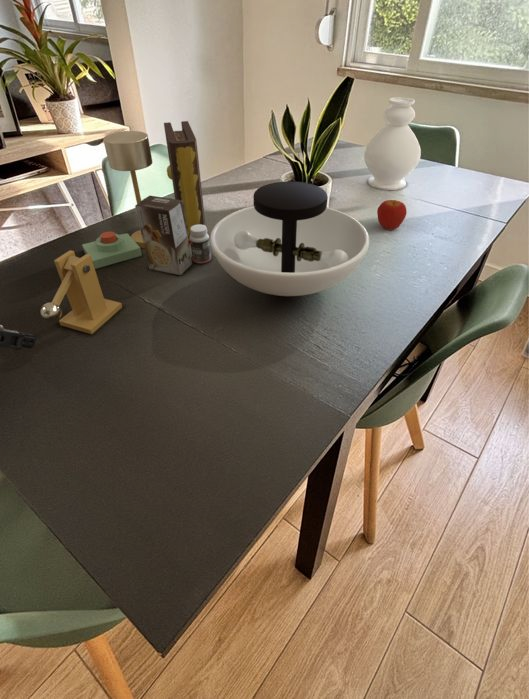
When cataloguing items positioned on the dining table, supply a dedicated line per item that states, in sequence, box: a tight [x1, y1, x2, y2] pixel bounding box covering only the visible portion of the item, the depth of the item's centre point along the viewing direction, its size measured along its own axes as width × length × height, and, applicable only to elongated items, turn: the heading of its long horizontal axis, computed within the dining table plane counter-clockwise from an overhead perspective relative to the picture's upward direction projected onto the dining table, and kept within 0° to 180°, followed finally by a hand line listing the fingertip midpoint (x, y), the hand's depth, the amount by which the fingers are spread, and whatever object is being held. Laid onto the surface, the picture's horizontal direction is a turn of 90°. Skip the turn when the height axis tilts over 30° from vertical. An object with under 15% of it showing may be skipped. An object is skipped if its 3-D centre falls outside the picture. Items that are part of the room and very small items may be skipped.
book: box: [163, 120, 206, 245], centre depth 114 cm, size 22×8×25 cm, turn 14°
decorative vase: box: [363, 96, 422, 191], centre depth 137 cm, size 18×18×25 cm
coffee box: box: [134, 195, 193, 276], centre depth 99 cm, size 9×6×16 cm
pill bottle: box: [189, 224, 212, 264], centre depth 105 cm, size 5×5×8 cm
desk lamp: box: [102, 130, 153, 249], centre depth 106 cm, size 10×10×26 cm
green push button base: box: [81, 232, 143, 270], centre depth 108 cm, size 12×10×4 cm
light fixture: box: [209, 181, 370, 297], centre depth 91 cm, size 33×33×21 cm
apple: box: [376, 199, 407, 231], centre depth 117 cm, size 8×8×8 cm
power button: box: [99, 231, 117, 244], centre depth 107 cm, size 4×4×2 cm
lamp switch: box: [39, 256, 81, 323], centre depth 80 cm, size 13×4×4 cm, turn 158°
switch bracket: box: [53, 250, 123, 335], centre depth 85 cm, size 10×8×14 cm
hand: (14, 335), depth 73 cm, fingers open, 8 cm apart
